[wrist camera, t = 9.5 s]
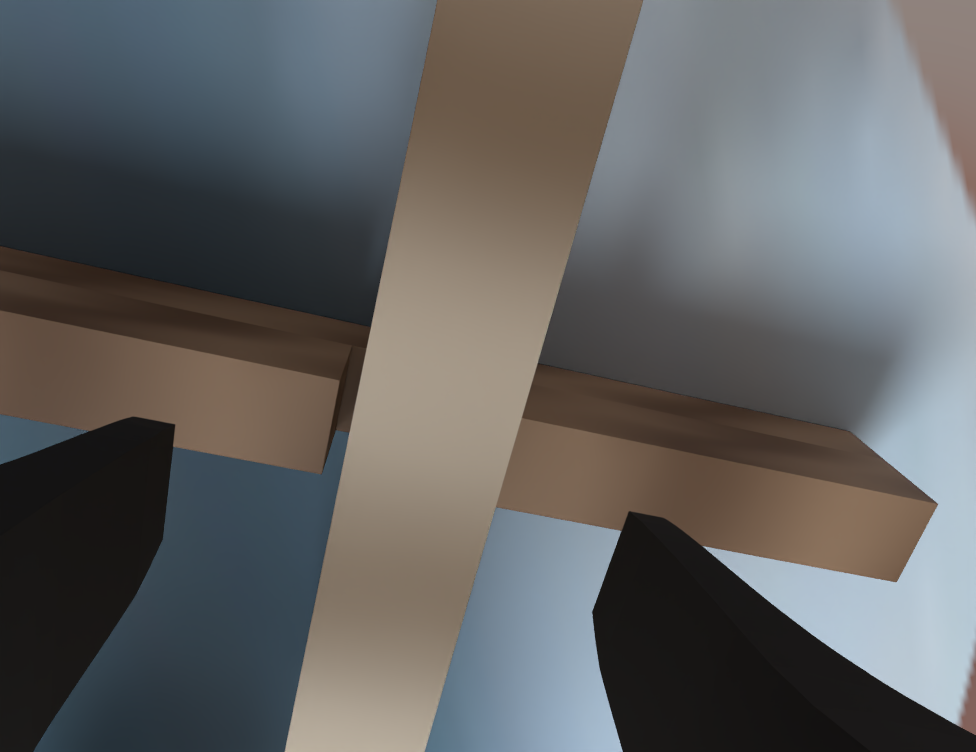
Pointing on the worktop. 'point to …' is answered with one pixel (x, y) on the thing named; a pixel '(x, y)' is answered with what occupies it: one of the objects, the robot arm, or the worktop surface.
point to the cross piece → (453, 351)
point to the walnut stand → (538, 445)
